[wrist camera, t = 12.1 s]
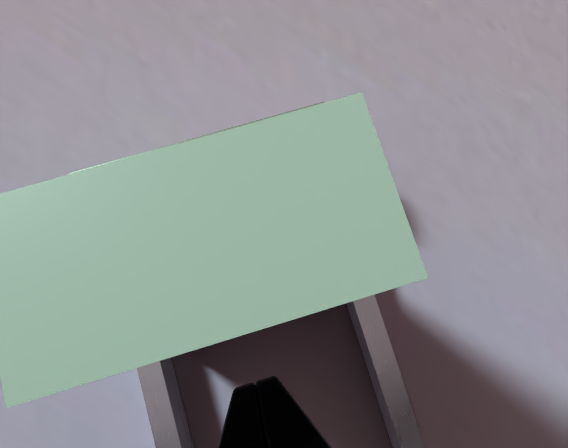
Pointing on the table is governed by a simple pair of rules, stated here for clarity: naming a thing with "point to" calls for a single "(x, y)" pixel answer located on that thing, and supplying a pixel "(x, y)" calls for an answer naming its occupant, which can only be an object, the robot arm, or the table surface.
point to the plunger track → (375, 348)
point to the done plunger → (196, 246)
